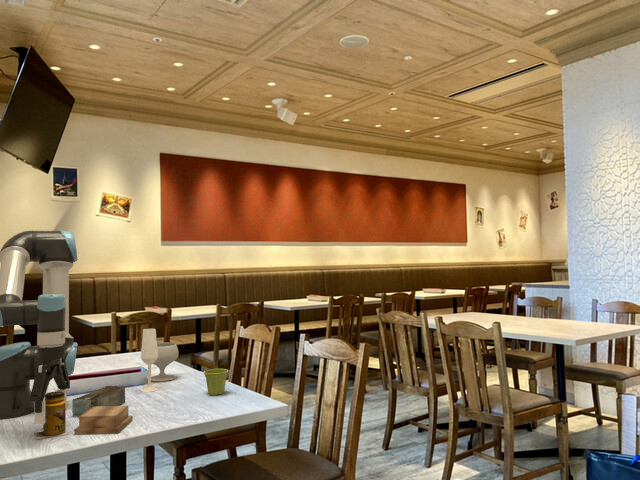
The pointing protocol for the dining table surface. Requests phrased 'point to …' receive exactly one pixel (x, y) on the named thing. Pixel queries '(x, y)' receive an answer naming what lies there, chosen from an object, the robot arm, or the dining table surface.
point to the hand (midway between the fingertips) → (51, 417)
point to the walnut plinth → (103, 420)
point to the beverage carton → (99, 399)
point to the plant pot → (216, 381)
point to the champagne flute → (149, 354)
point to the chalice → (165, 360)
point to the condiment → (54, 416)
